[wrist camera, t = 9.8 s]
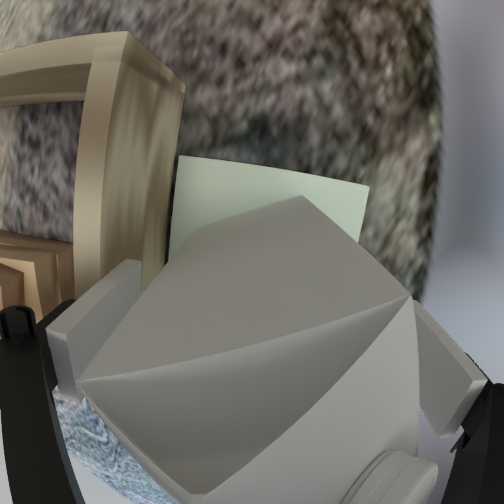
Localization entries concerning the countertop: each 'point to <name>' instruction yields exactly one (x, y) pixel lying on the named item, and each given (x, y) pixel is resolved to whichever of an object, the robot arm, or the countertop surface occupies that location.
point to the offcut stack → (35, 273)
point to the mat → (255, 195)
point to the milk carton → (269, 369)
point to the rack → (109, 143)
